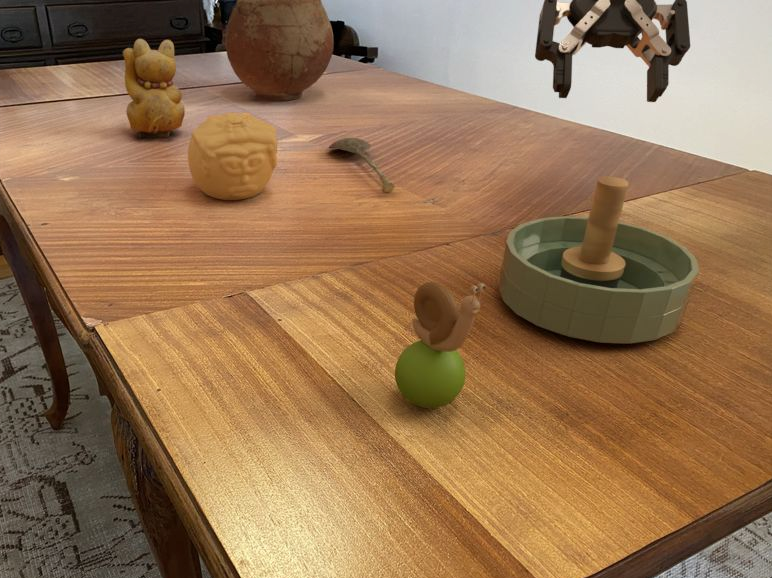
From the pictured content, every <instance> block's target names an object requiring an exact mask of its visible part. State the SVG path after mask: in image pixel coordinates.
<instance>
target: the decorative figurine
mask: <svg viewBox="0 0 772 578" xmlns="http://www.w3.org/2000/svg"><path fill="white" fill-rule="evenodd" d="M122 57H123V58H124V64H125V66H124V84H125V85H124V86H125V88H126V89H125V90H126V91H127V94H128V96H129V97H130V99H131V100H132V101H130V102H128V104H127V106H126V111H125V113H126V117H127V119H128V122H129V126H130V129H132V131H135V132H138V136H139V137H138V138H139V139H145V138H146V139H147V138H153V139H154V138H155V139H156V138H169V137H170V134H172V131H174V130H177V129H179V128H181V127H182V125H183V122H184V121H183V120H184V118H185V113H186V111H185V110H186V109H185V105H184V104H183V102H182V101H181V100H182V98H183V94H182V91H181V90H180V89H179V88H178V86H176V85H174V81H173V79H174V77H175V75H176V71H177V65H176V64H177V63H176V60H175V45H174V43H173V41H172V40H170V39H165V40H163V41H161V43H160V45H159V47H158V49H151V48H150V45H149V44H148V42H147V41H146V40H145V39H143V38H138V39H136V40H135V42H134V44H133V47H127V48H125V49H123V50H122Z"/></svg>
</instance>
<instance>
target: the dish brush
mask: <svg viewBox="0 0 772 578" xmlns="http://www.w3.org/2000/svg"><path fill="white" fill-rule="evenodd" d="M596 180H597V181H596V185H595V189H594V193H593V197H592V201H591V206H590V210H589V213H588V217H589V218H588V222H587V226H586V230H585V235H584V239H583V243H582V247H573V248H569V249H567V250H566V251H564V253H563V256H562V260H561V266H562V269H561V274H560V277H562V278H566V279H569V280H572V281H575V282H579V283H583V284H589V285H595V286H601V287H607V288H617V285H618V282H619V278H620V277H621V276H622V274H623V272H624V268H625V260H624V259H623V258H622V257H621V256H619V255H617V254H616V253H613V252H611V250H612V246H613V242H614V239H615V235H616V231H617V227H618V224H619V222H620V219H621V215H622V213H623V208H624V204H625V201H626V196H627V194H628V193H627V192H628V189H629V185H630V184H629V181H628V180H626V179H624V178H621V177H615V176H600V177H598V179H596Z"/></svg>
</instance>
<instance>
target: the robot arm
mask: <svg viewBox="0 0 772 578" xmlns="http://www.w3.org/2000/svg"><path fill="white" fill-rule="evenodd" d="M688 10H689V9H688V1H687V0H674V1H673V3H672V4H658V3H656V0H571V1H570V2H567V1H558V0H544V1H543V4H542V7H541V10H540V13H539V17H538V27H537V34H536V44H535V52H534V58H535V60H536V61H539V62H544V61H545V60H546V61H548V62H550V63H551V64H552V66H553V68H552V69H553V70H552V71H553V72H552V75H553V77H552V90H553V92H554V93H558V98H559V99H567V98H568V96H569V94H570V92H571V89H572V81H573V80H572V79H573V56H576V55H577V54H578V52H579V51H580V50H581V49H582V48H583V47H585V45H586V44H589V45H591V48H596V49H597V48H598V49H599V48H605V47H610V48H613V49H624V48H625V47H627V49H628V50H629V51H630V52H631V53H632V54H633V56H635V58H641V60H642V61H643V62H644V63H645V64H646V65H647V67H648V68H647V70H646V102H648V103H656V102H657V101H658V99H659V98H661V97H662V96H663V94H664V93H665V92H666V90H667V89H668V86H669V83H670V81H669V78H670V77H669V74H670V73H669V71H670V70H669V67H670V66H673V67H677V66H679V65H680V64H681V62H682V60H683V58H684V57H685V55H686V53H688V51H689V50H690V48H691V36H690V35H691V34H690V25H689V11H688ZM565 17H566V19H567V20H568V22H569V24H570V25H571V26H572V27H573V28H572V29H571V31H570V32H569V33H568V35H567V36H566V37H565V38H564V39H563V40H562V41H561V42H557V41H554V32H555V26H557V25H559V24H560V23H561V20H562V19H563V18H565ZM653 20H656V21H658V22H659V25H660V29H661V30H662V31H665V39H664V38H662V37H661V35H660V30H659V28H658V27H657V25H656V24H655V23H654V22H653ZM640 35H641V38H640V37H639V36H640Z"/></svg>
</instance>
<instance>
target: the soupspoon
mask: <svg viewBox="0 0 772 578" xmlns="http://www.w3.org/2000/svg"><path fill="white" fill-rule="evenodd" d="M370 148H372V145H371V143H369V142H368V141H366V140H364V139H361V138H357V137H345V138H341V139H338V140H336V141H334V142H333V143H331V144H330V145H329V146H328V149H330V150H332V149H333V150H334V149H337V150H342V151H346V152H349V153H352V154H355V155H357V156H358V157H360V158H361V159H362V160H364V162H365V163H367V164H368V165H369V166H370V168H372V170H373V171H374V172H375V173H376V174H377V175H378V176H379V180H380V181H381V184H382V187H381V190H382V192H384V193H387V194H388V193H392V192H393V190H394V189H395V188H396V185H395V183H394V182H392V181H390V180H389V179H388V177H387V175H386V174H384V173H383V172H382V171H381V169H380V168H379V166H377V165H376V163H374V162H373V161H372V160H371V158H370V157H369V156H368V155H366V154H365V152H367V151H368V150H370Z"/></svg>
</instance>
